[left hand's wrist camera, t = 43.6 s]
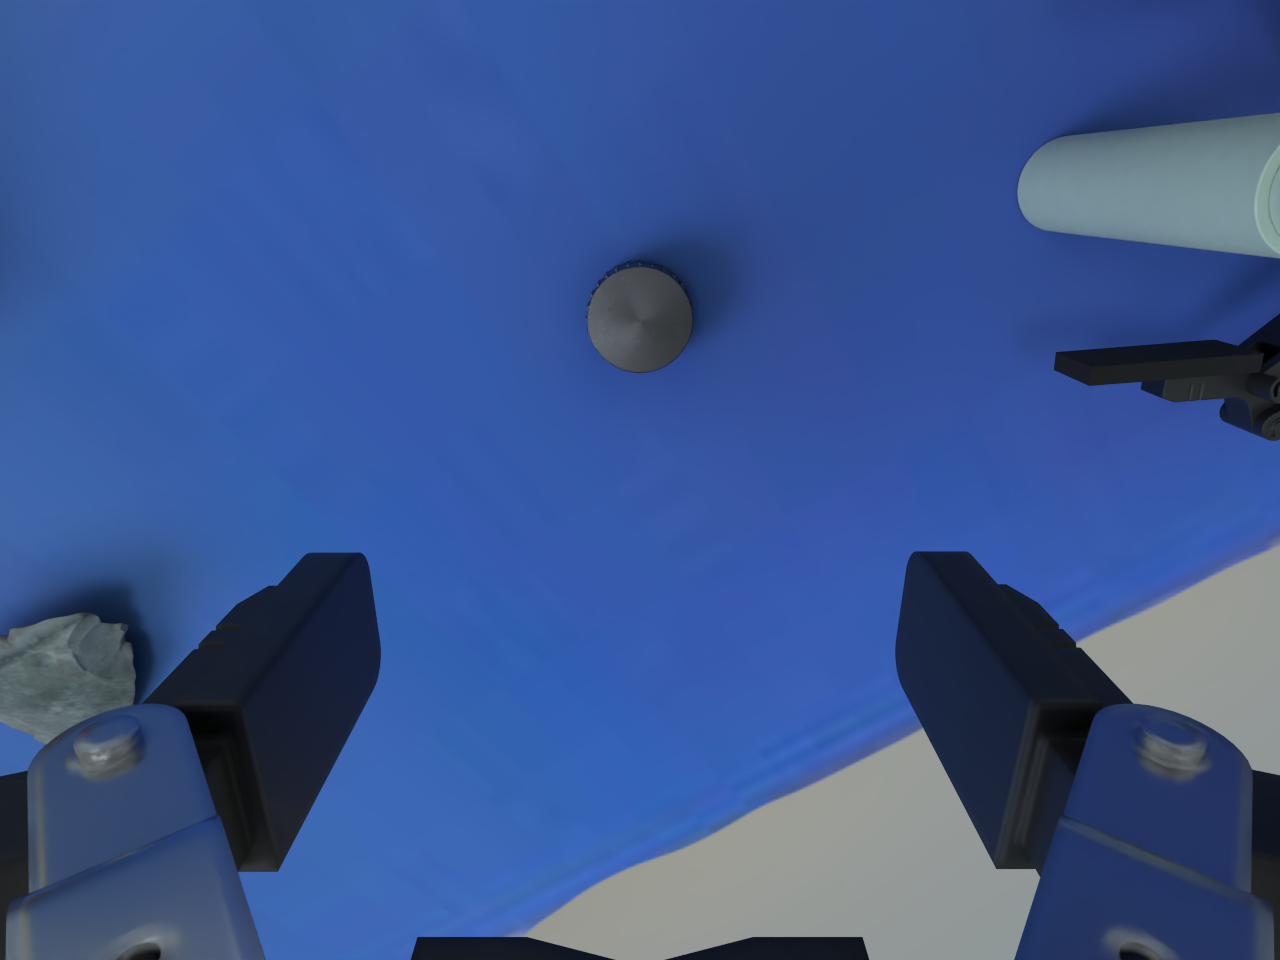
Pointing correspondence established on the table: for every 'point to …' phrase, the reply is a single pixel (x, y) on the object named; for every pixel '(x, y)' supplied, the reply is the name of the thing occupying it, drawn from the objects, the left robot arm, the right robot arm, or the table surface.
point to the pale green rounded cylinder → (1163, 185)
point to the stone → (64, 673)
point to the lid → (639, 317)
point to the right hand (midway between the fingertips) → (1093, 188)
